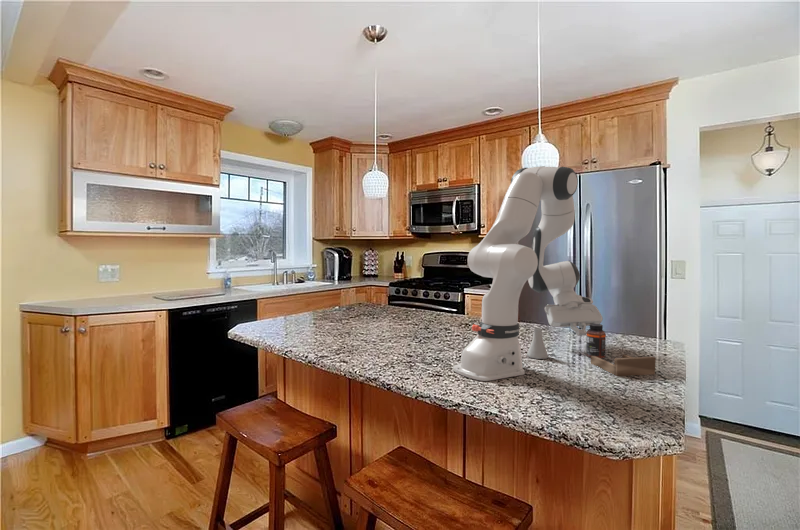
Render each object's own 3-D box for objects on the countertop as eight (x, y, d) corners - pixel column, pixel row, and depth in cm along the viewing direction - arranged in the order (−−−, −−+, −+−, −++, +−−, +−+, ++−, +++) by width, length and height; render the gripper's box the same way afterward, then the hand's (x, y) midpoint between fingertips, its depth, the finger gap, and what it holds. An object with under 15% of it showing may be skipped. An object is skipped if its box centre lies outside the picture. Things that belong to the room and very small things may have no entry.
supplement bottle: (604, 355, 138) (605, 323, 137) (605, 360, 133) (606, 327, 132) (585, 353, 141) (586, 322, 140) (586, 358, 135) (586, 325, 134)
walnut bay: (590, 363, 129) (591, 348, 129) (625, 361, 131) (625, 346, 131) (616, 376, 117) (617, 359, 116) (654, 374, 118) (655, 357, 118)
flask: (550, 360, 133) (550, 330, 132) (527, 359, 134) (528, 329, 134) (546, 354, 140) (547, 326, 139) (525, 353, 141) (525, 325, 141)
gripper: (545, 300, 150) (559, 331, 141) (595, 298, 153) (611, 329, 143) (539, 309, 154) (552, 340, 145) (588, 308, 157) (603, 338, 148)
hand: (582, 334), depth 144 cm, fingers closed
